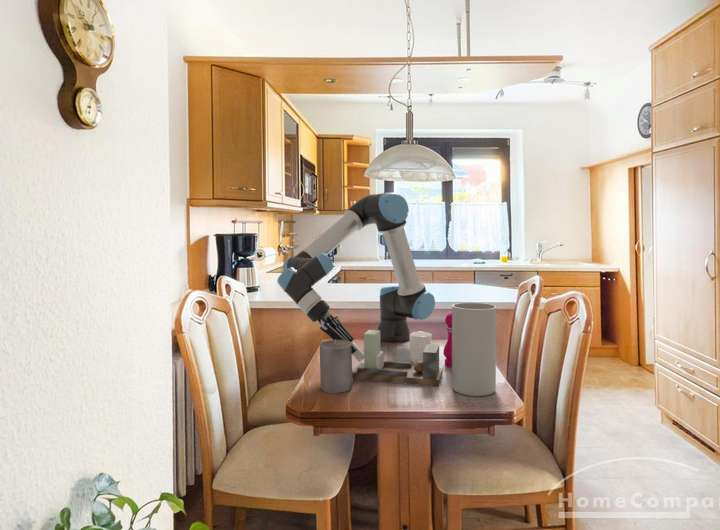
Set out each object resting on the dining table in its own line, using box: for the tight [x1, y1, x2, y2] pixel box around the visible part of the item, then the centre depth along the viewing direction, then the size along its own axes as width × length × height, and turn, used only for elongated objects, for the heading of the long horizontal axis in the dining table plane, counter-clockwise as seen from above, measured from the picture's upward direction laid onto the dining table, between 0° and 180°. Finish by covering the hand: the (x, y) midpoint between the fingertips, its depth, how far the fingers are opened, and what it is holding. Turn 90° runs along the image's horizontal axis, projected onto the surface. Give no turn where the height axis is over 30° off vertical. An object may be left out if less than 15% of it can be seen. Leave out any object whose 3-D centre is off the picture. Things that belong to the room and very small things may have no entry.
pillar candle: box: [319, 339, 353, 394], centre depth 138 cm, size 10×10×15 cm
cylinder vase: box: [451, 302, 497, 397], centre depth 134 cm, size 12×12×25 cm
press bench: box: [352, 343, 444, 387], centre depth 148 cm, size 28×12×10 cm, turn 75°
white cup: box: [409, 331, 433, 364], centre depth 165 cm, size 8×8×10 cm
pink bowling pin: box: [443, 309, 452, 368], centre depth 160 cm, size 7×7×20 cm
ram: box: [363, 329, 385, 369], centre depth 150 cm, size 5×7×12 cm
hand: (362, 358), depth 150 cm, fingers closed
